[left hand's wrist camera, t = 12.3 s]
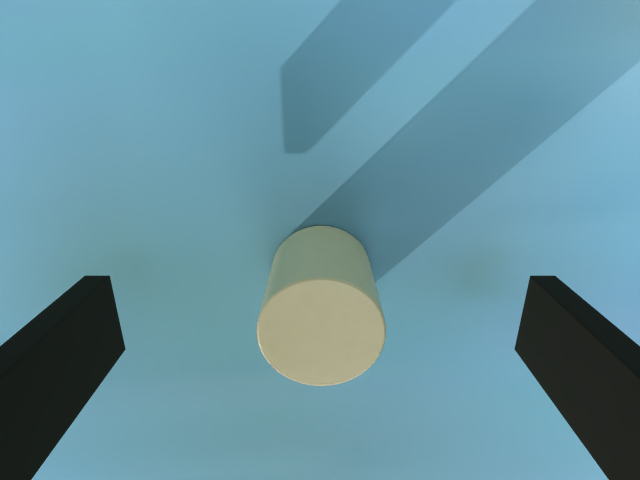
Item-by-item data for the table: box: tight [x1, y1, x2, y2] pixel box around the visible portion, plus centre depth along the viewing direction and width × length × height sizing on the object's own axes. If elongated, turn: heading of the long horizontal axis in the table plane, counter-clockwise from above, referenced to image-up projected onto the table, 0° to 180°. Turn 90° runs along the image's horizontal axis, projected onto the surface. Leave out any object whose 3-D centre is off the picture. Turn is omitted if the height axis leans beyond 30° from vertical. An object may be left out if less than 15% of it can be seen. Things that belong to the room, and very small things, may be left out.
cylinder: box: [257, 226, 386, 386], centre depth 13 cm, size 4×4×4 cm
